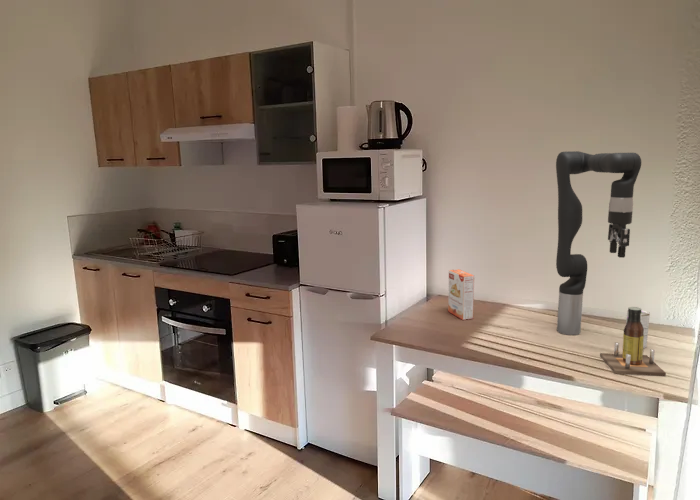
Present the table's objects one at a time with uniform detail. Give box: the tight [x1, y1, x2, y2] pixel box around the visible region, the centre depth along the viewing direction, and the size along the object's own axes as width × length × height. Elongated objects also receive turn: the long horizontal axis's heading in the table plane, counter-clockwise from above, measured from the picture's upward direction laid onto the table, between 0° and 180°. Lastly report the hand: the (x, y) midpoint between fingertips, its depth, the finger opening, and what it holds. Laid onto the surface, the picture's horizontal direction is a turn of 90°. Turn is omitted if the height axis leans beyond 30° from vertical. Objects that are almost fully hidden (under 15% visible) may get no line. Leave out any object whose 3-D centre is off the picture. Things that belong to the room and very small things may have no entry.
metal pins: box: [613, 342, 656, 369], centre depth 182 cm, size 13×11×5 cm
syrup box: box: [625, 309, 651, 349], centre depth 199 cm, size 6×6×14 cm
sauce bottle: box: [622, 306, 644, 365], centre depth 181 cm, size 7×6×20 cm
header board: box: [599, 352, 667, 377], centre depth 182 cm, size 16×16×1 cm
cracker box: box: [447, 269, 475, 321], centre depth 241 cm, size 14×6×21 cm, turn 17°
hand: (617, 255), depth 185 cm, fingers open, 8 cm apart
